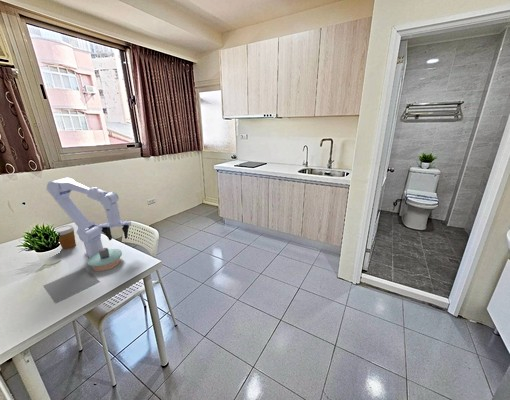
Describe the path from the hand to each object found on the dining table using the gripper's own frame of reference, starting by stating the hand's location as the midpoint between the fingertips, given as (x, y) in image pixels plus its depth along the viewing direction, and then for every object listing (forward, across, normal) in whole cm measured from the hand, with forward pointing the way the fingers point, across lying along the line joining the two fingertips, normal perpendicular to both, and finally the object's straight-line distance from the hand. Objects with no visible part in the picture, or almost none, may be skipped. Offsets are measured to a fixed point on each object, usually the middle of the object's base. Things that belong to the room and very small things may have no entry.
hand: (118, 238), depth 121 cm
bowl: (+10, -5, -8) cm, 14 cm away
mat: (+10, -15, -21) cm, 28 cm away
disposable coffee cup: (+10, -33, +18) cm, 39 cm away
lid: (+6, -5, -8) cm, 11 cm away
